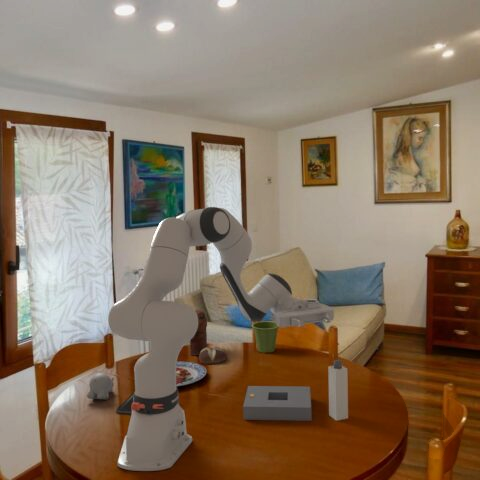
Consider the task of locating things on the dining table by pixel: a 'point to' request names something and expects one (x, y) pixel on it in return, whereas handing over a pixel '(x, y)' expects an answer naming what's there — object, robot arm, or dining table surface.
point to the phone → (126, 406)
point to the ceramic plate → (188, 373)
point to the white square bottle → (338, 391)
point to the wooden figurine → (199, 335)
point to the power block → (277, 403)
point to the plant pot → (265, 335)
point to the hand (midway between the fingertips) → (315, 322)
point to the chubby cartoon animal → (100, 386)
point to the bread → (212, 355)
